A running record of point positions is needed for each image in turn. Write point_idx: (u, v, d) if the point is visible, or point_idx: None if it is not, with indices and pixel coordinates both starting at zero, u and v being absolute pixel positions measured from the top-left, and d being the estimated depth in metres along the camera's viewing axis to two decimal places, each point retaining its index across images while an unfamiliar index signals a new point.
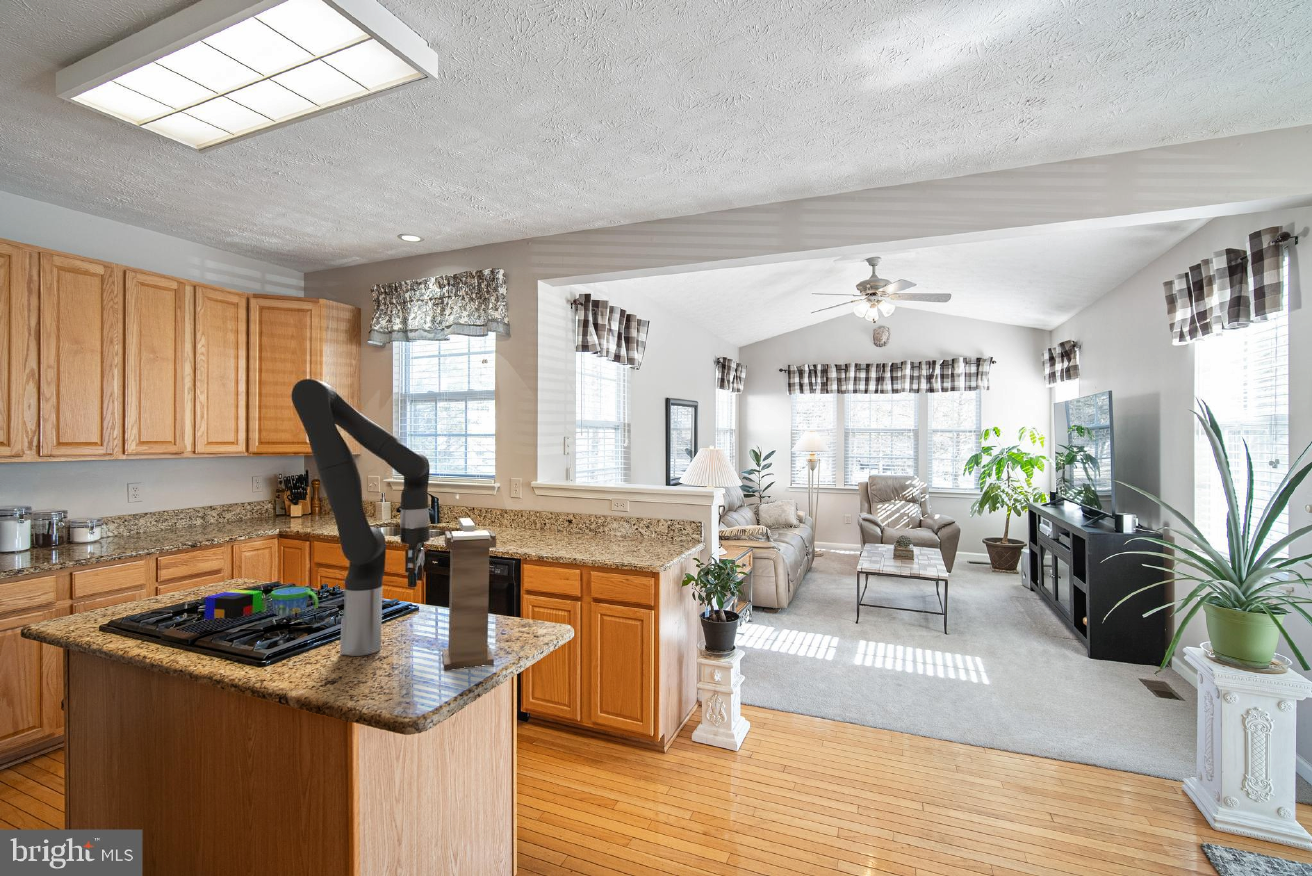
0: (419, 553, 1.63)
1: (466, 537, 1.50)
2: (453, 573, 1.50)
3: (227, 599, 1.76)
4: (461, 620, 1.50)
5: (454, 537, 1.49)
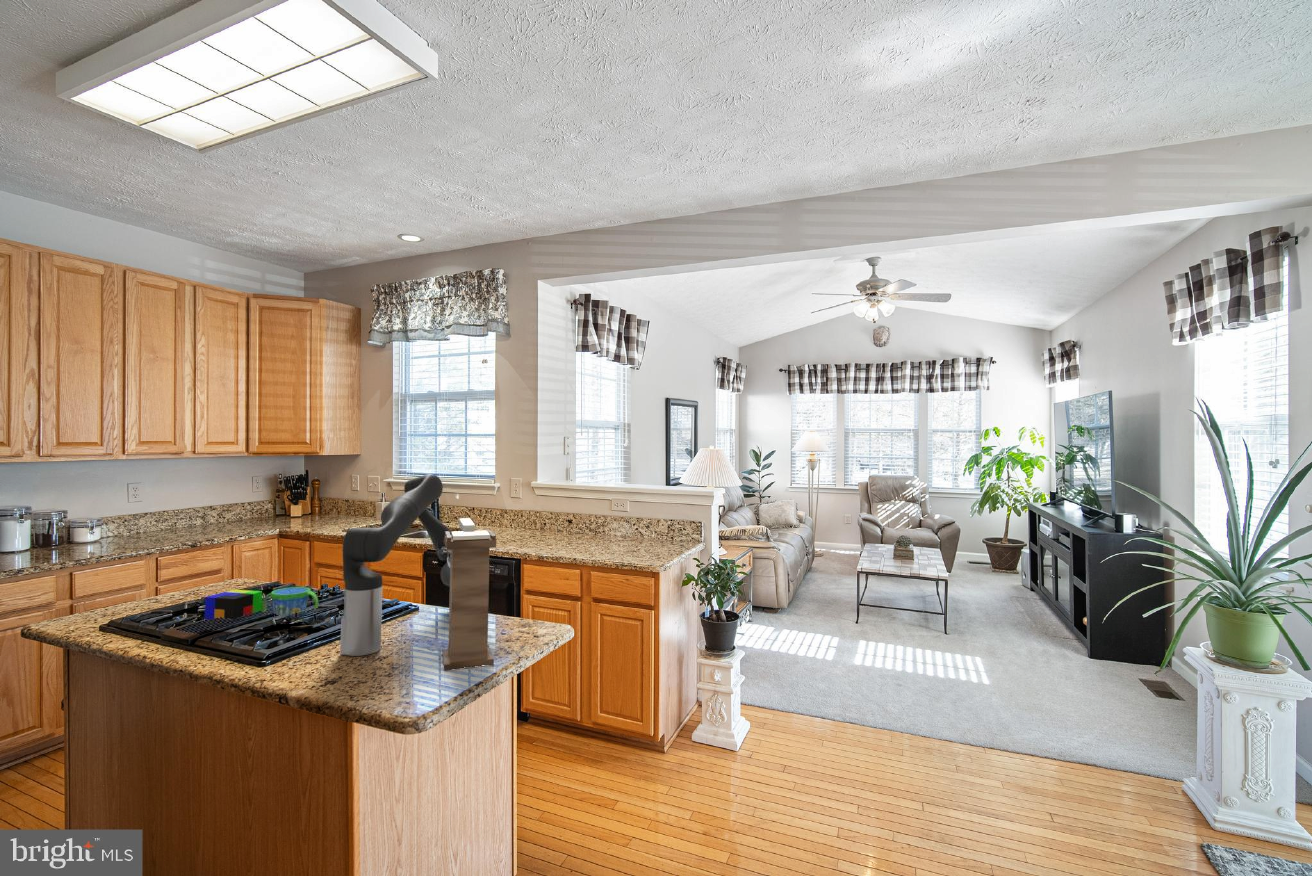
0: None
1: (466, 537, 1.50)
2: (453, 573, 1.50)
3: (227, 599, 1.76)
4: (461, 620, 1.50)
5: (454, 537, 1.49)
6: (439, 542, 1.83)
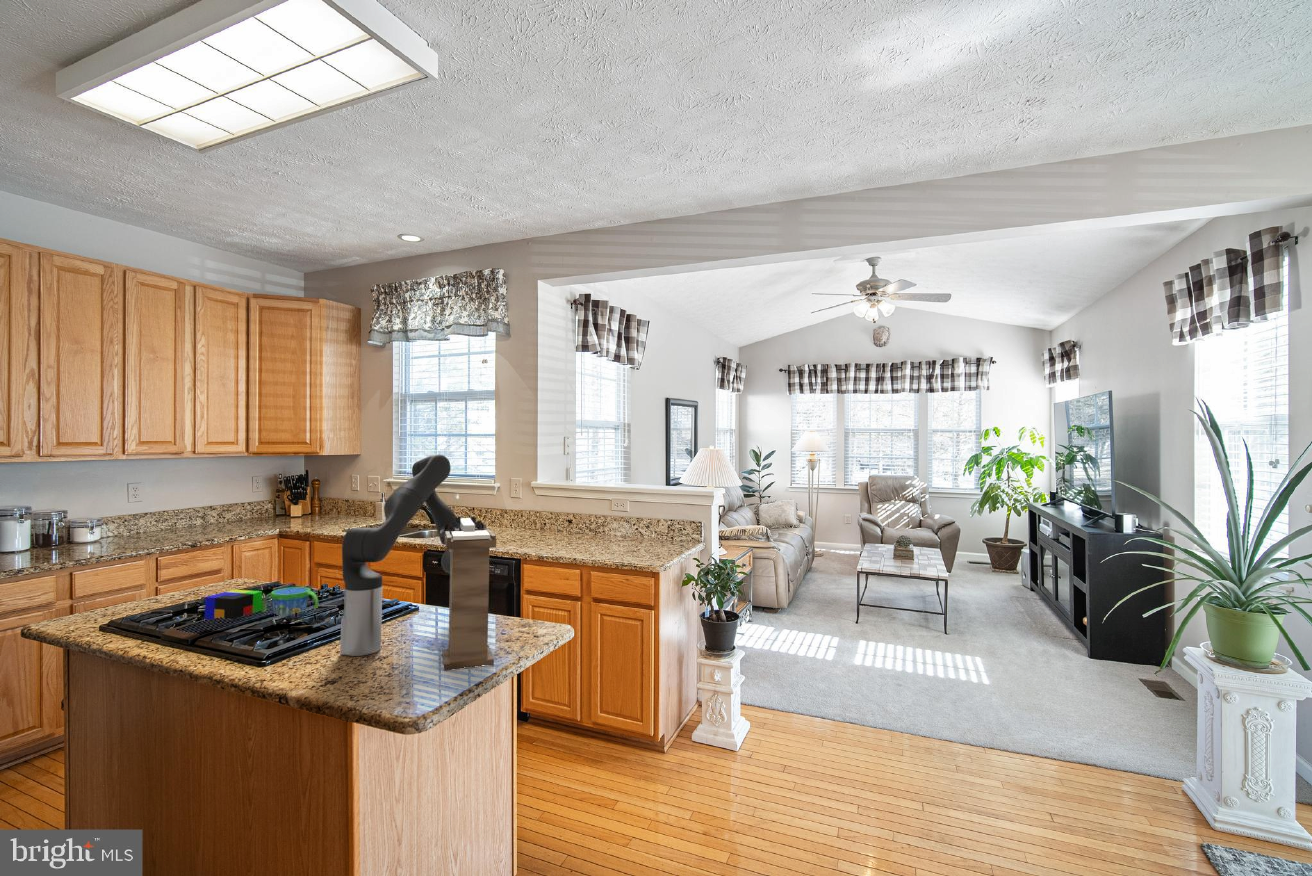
0: None
1: (466, 537, 1.50)
2: (453, 573, 1.50)
3: (227, 599, 1.76)
4: (461, 620, 1.50)
5: (454, 537, 1.49)
6: (451, 523, 1.72)
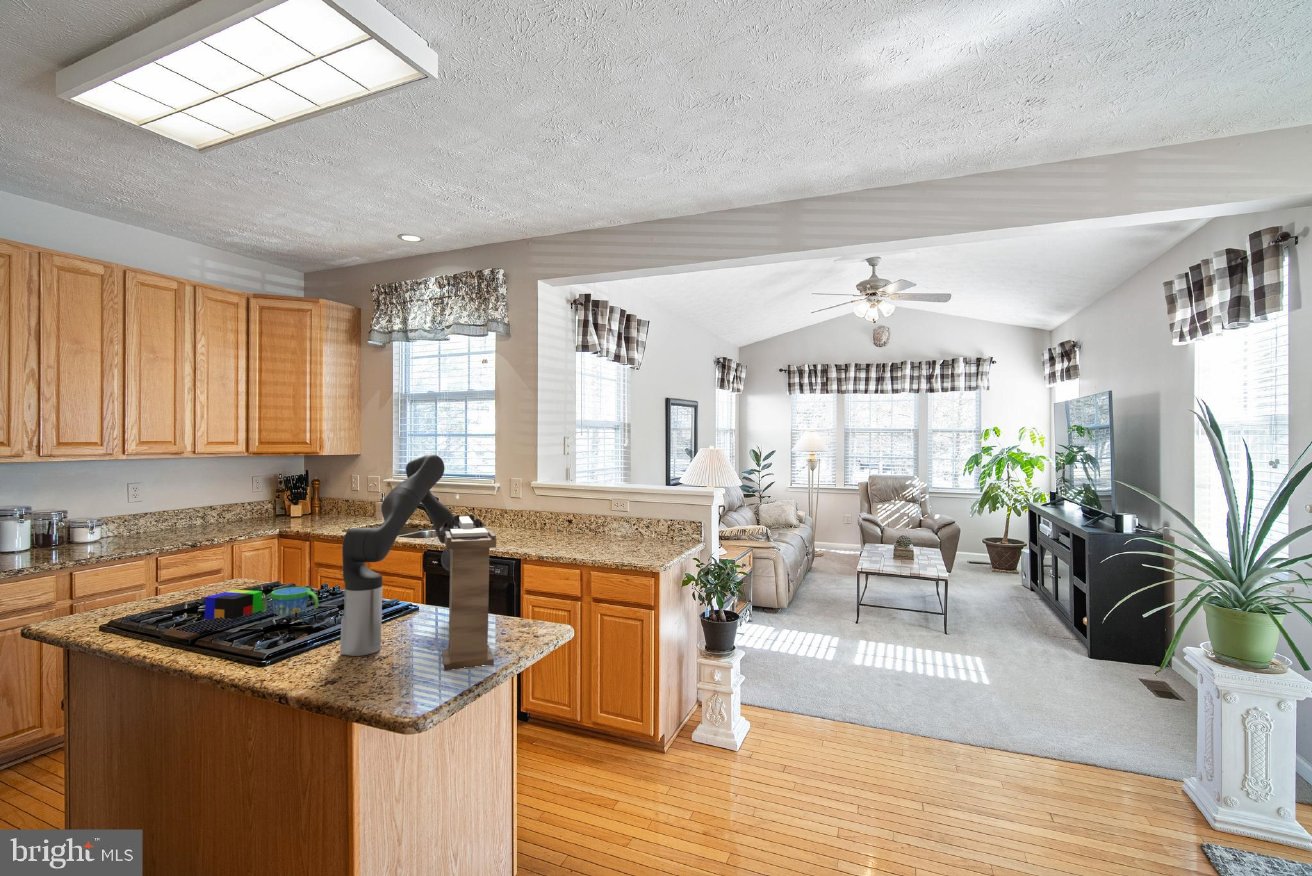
0: None
1: (464, 534, 1.55)
2: (453, 573, 1.50)
3: (227, 599, 1.76)
4: (461, 620, 1.50)
5: (453, 534, 1.54)
6: (450, 521, 1.77)
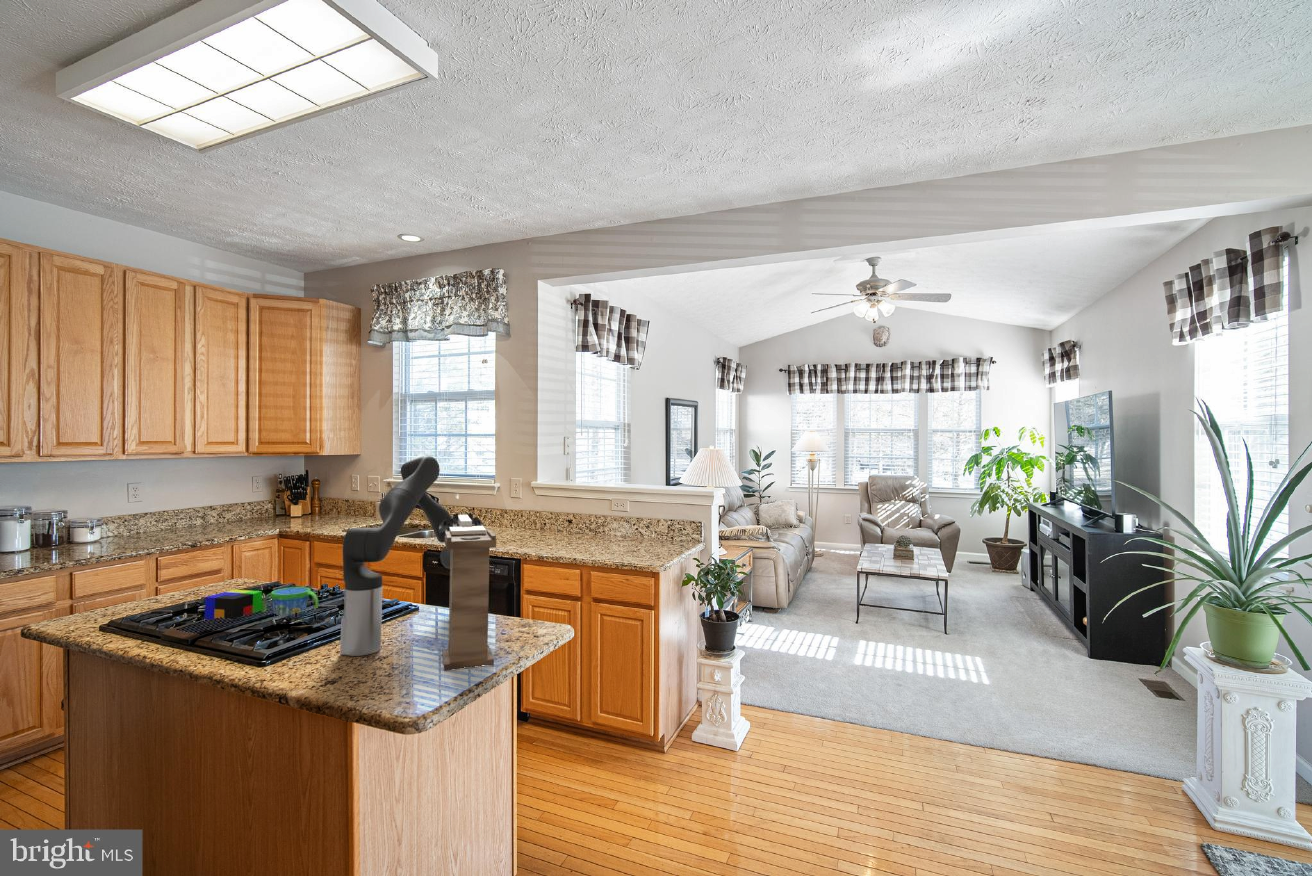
0: None
1: (463, 532, 1.59)
2: (453, 573, 1.50)
3: (227, 599, 1.76)
4: (461, 620, 1.50)
5: (452, 532, 1.58)
6: (449, 519, 1.81)
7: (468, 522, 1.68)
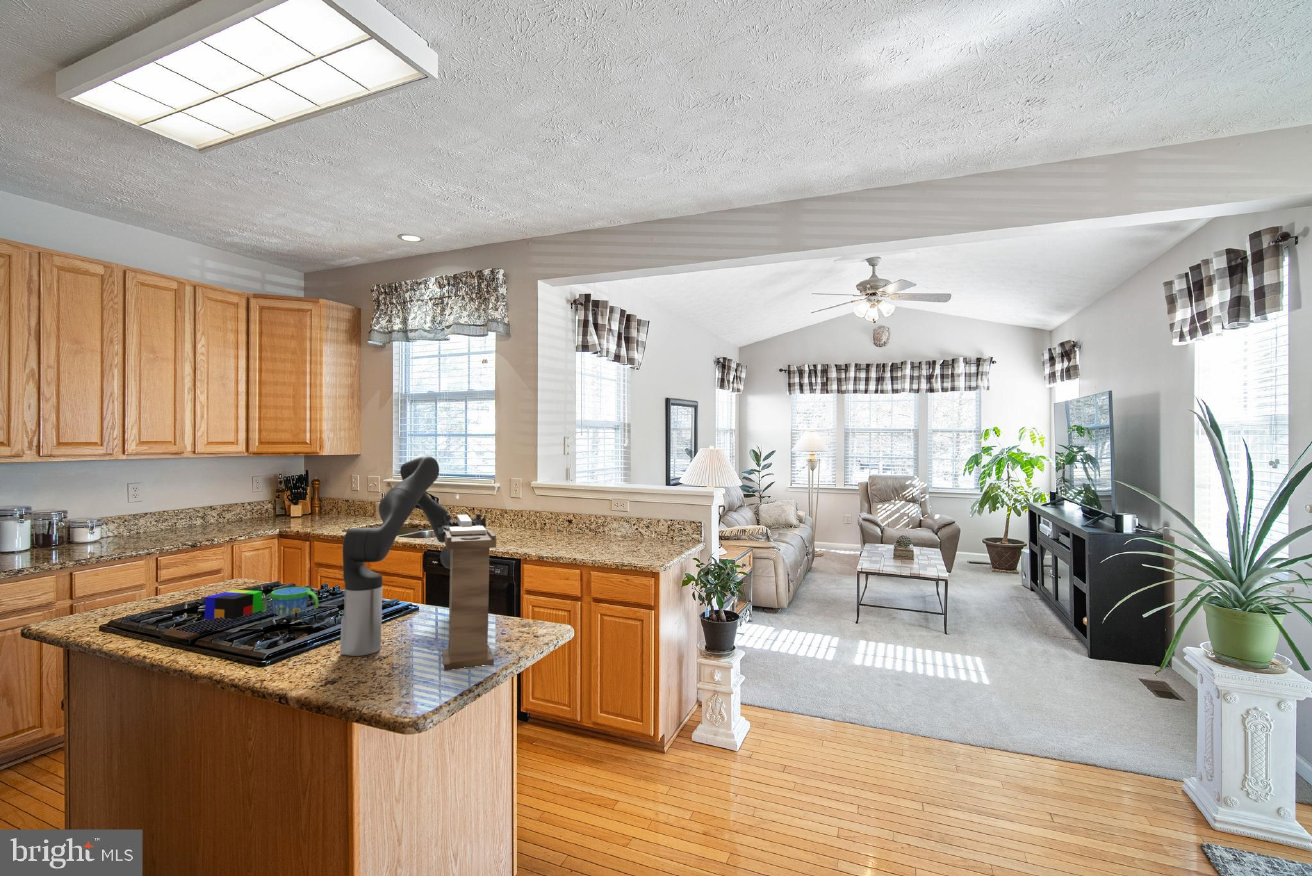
0: None
1: (463, 532, 1.59)
2: (453, 573, 1.50)
3: (227, 599, 1.76)
4: (461, 620, 1.50)
5: (452, 532, 1.58)
6: (439, 521, 1.81)
7: (468, 522, 1.69)
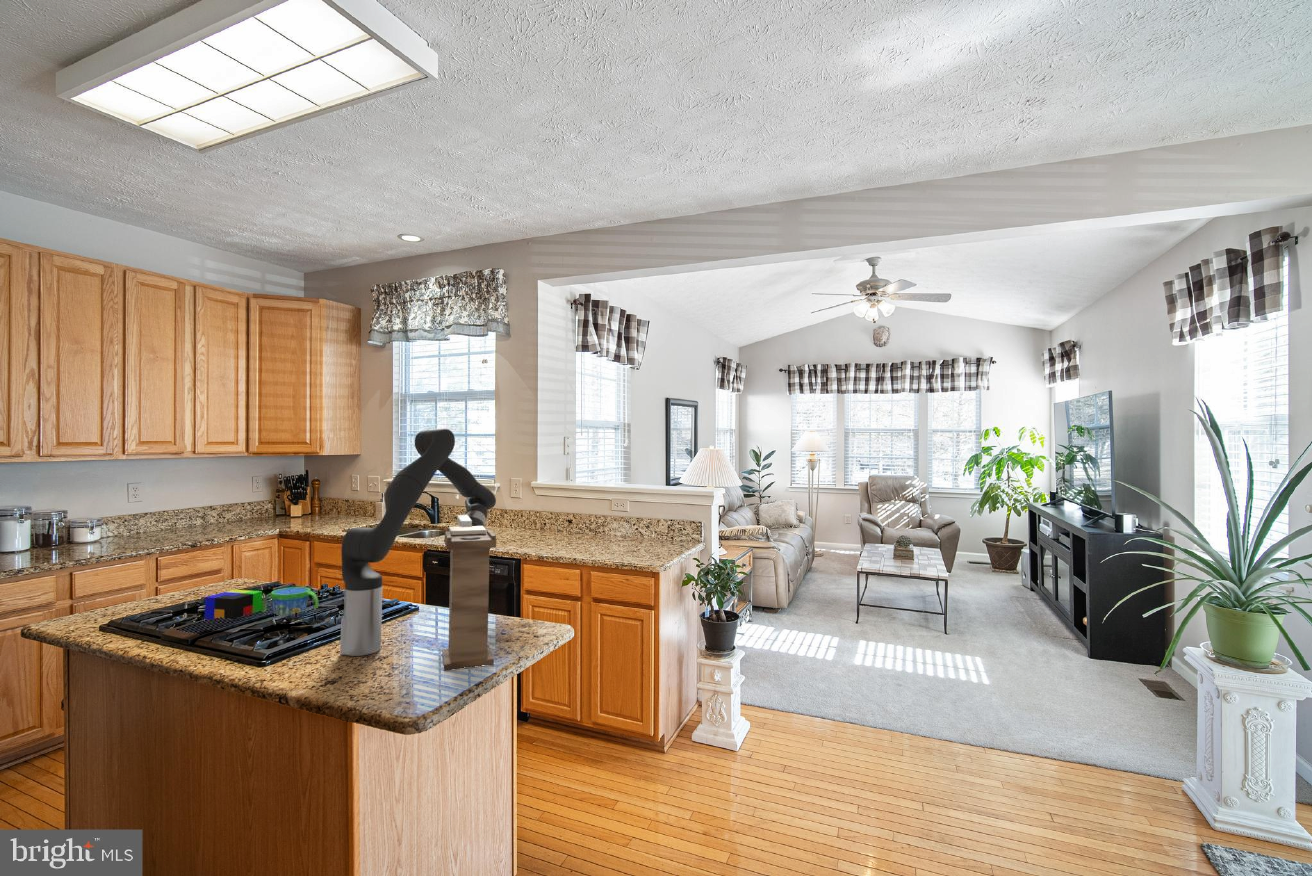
0: None
1: (463, 532, 1.59)
2: (453, 573, 1.50)
3: (227, 599, 1.76)
4: (461, 620, 1.50)
5: (452, 532, 1.58)
6: None
7: (468, 522, 1.69)
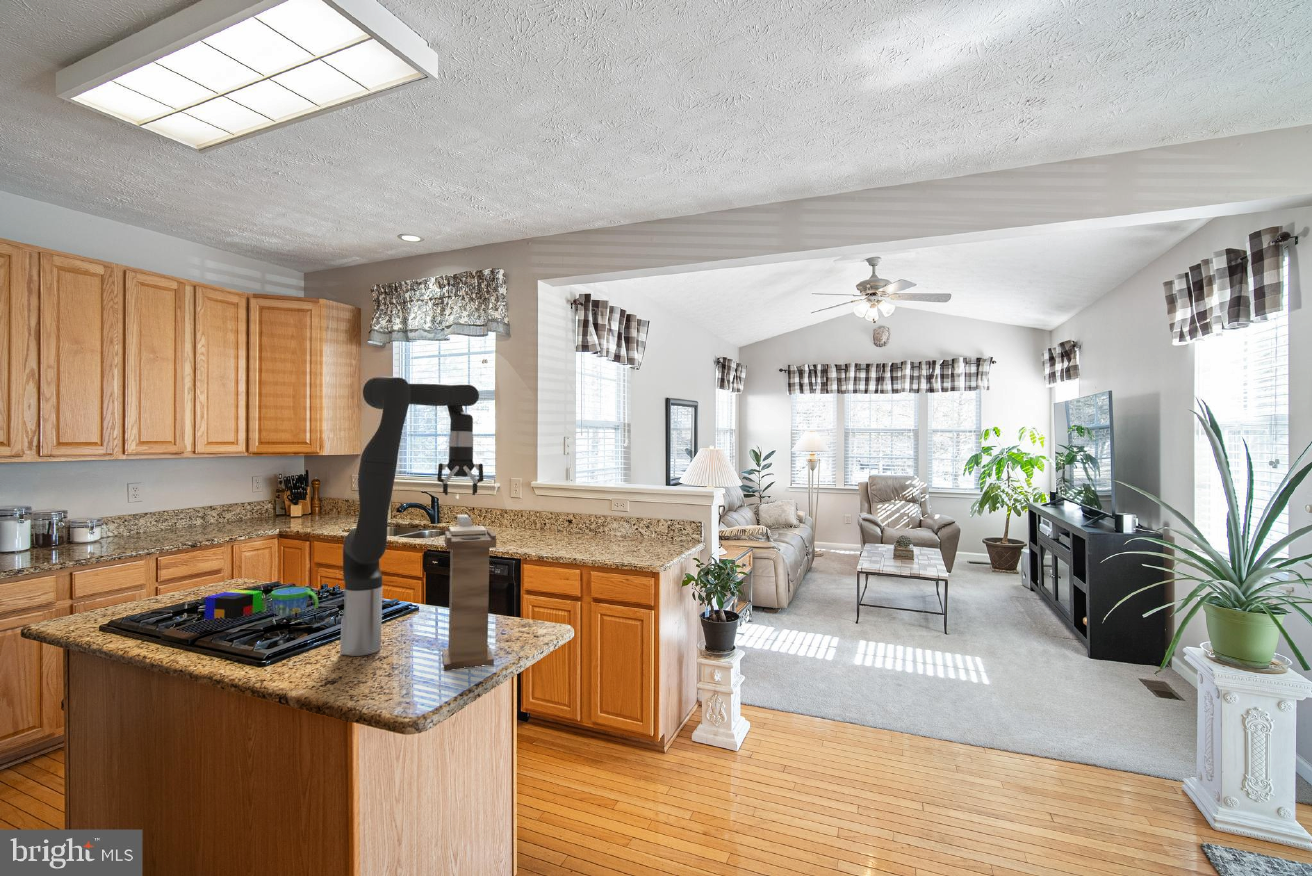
0: None
1: (463, 532, 1.59)
2: (453, 573, 1.50)
3: (227, 599, 1.76)
4: (461, 620, 1.50)
5: (452, 532, 1.58)
6: (439, 481, 1.91)
7: (468, 522, 1.69)
